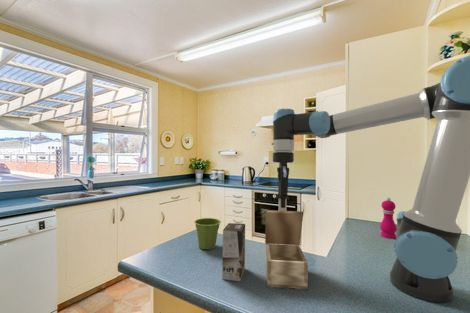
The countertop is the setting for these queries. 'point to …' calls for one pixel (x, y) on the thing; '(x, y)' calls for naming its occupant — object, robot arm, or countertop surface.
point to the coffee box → (233, 251)
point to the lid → (283, 227)
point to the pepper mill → (388, 220)
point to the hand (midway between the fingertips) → (282, 215)
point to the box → (286, 266)
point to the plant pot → (207, 232)
